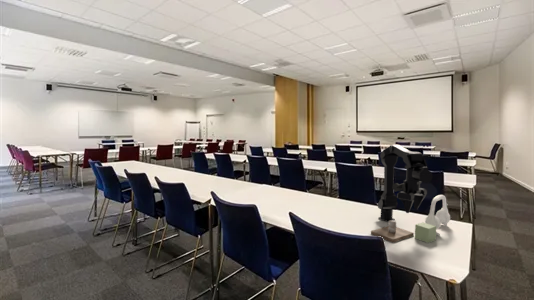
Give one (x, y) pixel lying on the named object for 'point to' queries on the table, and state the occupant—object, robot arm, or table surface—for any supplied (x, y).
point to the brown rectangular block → (392, 232)
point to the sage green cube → (425, 232)
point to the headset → (438, 213)
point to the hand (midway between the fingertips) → (411, 211)
